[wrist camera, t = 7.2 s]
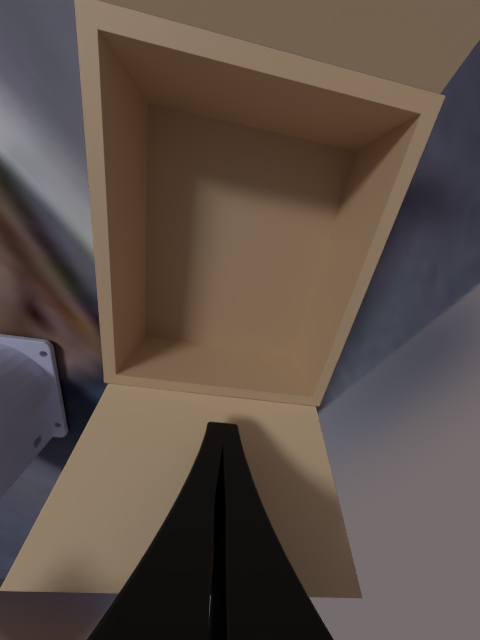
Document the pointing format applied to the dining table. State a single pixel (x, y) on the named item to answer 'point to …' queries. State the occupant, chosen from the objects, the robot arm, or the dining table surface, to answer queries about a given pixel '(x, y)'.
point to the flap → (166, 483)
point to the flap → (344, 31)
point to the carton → (235, 203)
